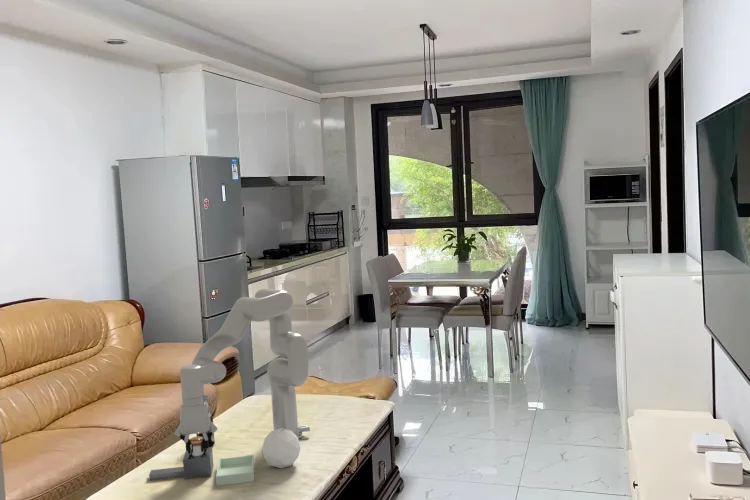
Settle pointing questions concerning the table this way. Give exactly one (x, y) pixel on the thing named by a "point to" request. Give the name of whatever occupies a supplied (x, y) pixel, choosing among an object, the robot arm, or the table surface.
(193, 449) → the pin
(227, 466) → the tray
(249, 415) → the table surface
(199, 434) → the beverage can
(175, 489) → the table surface
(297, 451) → the geodesic sphere
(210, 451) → the hitch block
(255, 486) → the table surface
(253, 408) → the table surface
